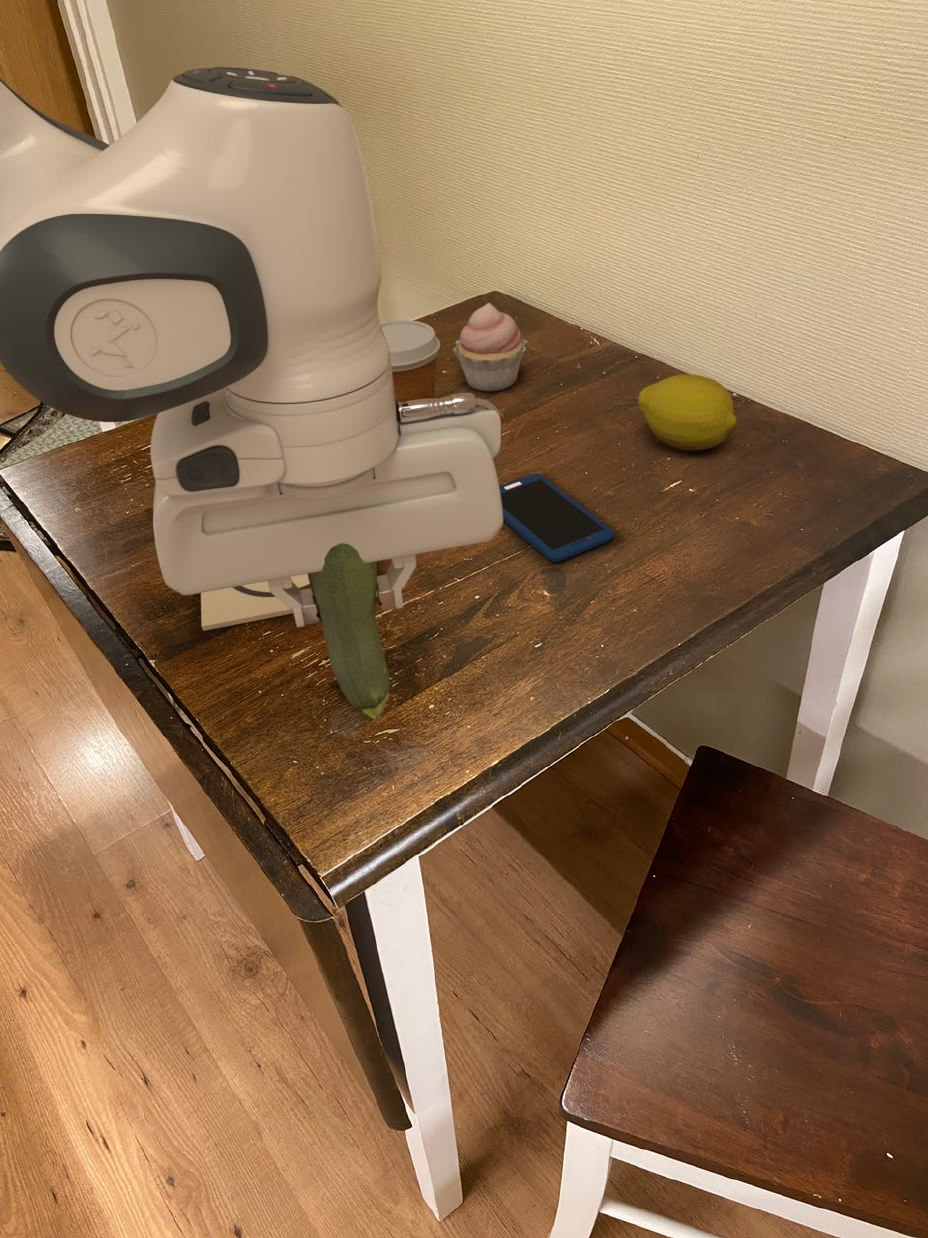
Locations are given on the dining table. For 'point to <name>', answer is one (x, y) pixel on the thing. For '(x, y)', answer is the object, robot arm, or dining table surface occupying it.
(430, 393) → the disposable coffee cup
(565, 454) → the dining table surface
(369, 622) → the vegetable
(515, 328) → the cupcake
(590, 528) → the cell phone
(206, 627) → the board
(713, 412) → the lemon
